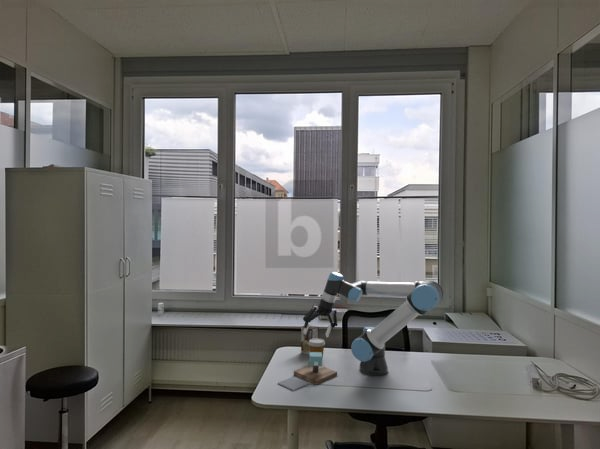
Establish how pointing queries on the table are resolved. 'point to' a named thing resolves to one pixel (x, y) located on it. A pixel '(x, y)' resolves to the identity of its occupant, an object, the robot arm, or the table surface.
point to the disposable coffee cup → (316, 345)
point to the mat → (293, 383)
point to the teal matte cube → (315, 359)
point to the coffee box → (308, 338)
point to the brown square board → (315, 373)
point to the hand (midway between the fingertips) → (315, 334)
